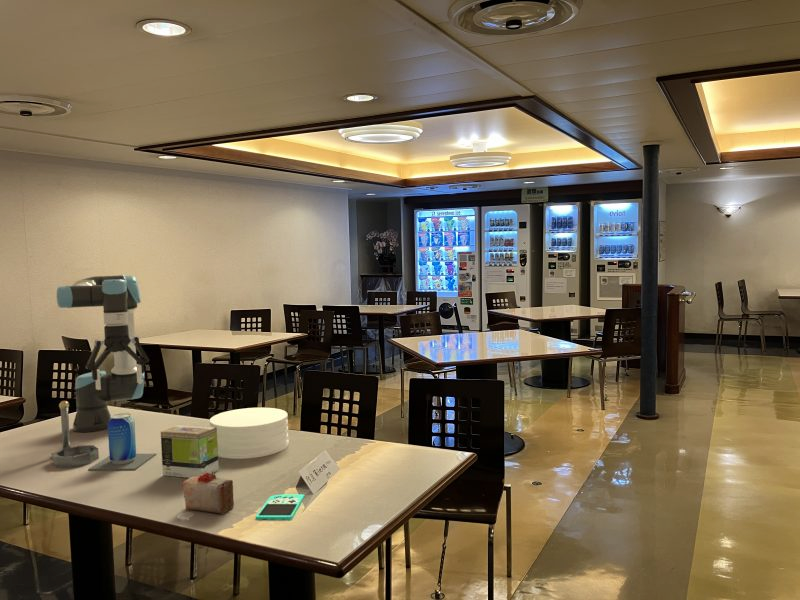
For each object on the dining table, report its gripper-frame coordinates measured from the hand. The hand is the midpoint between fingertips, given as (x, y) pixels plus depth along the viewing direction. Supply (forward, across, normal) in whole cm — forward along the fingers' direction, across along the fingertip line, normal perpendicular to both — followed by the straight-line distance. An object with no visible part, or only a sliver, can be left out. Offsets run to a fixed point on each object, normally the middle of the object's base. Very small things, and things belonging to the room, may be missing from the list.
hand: (119, 386), depth 211 cm
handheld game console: (+27, +18, -74) cm, 81 cm away
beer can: (+26, 0, 0) cm, 26 cm away
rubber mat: (+27, 0, 0) cm, 27 cm away
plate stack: (+27, +40, -16) cm, 51 cm away
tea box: (+27, +12, -28) cm, 40 cm away
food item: (+27, +3, -59) cm, 65 cm away
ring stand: (+27, -11, +17) cm, 34 cm away
